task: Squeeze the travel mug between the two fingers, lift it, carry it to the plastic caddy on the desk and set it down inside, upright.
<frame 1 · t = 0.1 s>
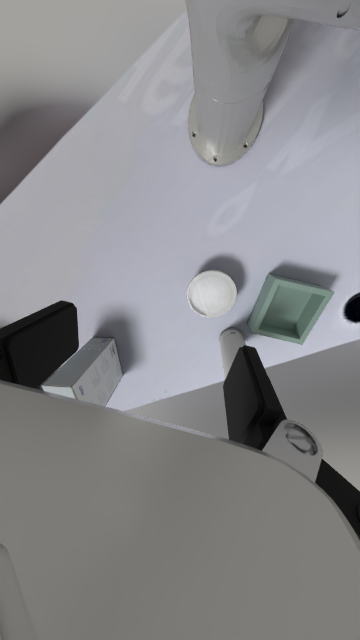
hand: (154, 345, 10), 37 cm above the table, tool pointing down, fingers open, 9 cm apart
caddy: (281, 305, 45), on the table
travel mug: (230, 337, 51), on the table
hard drive box: (108, 357, 60), on the table
ramekin: (210, 288, 46), on the table
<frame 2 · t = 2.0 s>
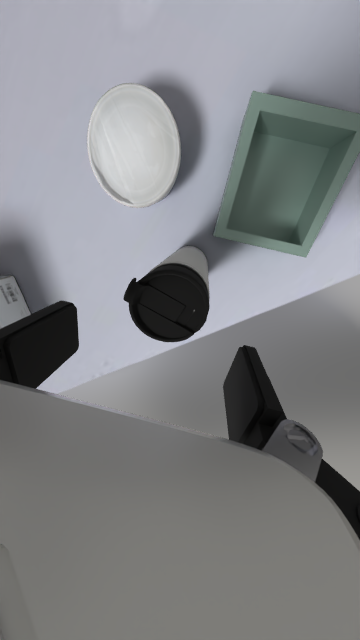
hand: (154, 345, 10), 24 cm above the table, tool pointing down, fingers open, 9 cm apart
caddy: (269, 193, 25), on the table
travel mug: (188, 264, 31), on the table
hard drive box: (16, 310, 40), on the table
ramekin: (145, 166, 26), on the table
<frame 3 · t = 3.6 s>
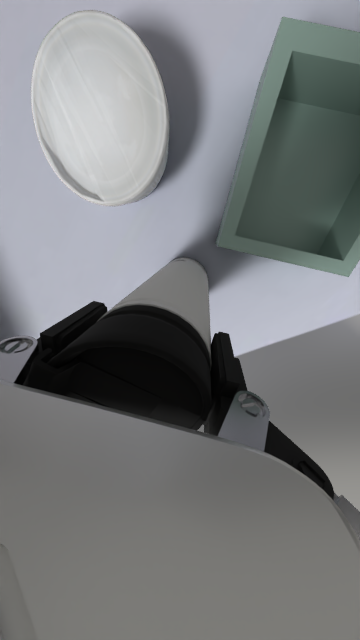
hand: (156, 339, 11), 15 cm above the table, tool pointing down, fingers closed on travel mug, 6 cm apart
caddy: (293, 187, 18), on the table
travel mug: (183, 281, 24), on the table, touching gripper
ramekin: (124, 150, 19), on the table
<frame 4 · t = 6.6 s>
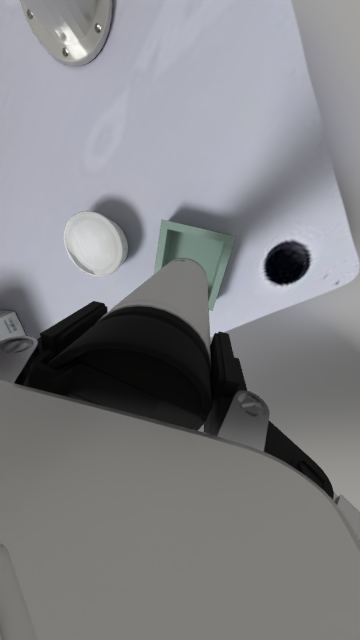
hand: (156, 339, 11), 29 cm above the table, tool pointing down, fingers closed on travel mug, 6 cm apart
caddy: (191, 264, 37), on the table
travel mug: (182, 281, 24), point 14 cm above the table, touching gripper
hard drive box: (16, 335, 52), on the table
ramekin: (107, 244, 38), on the table
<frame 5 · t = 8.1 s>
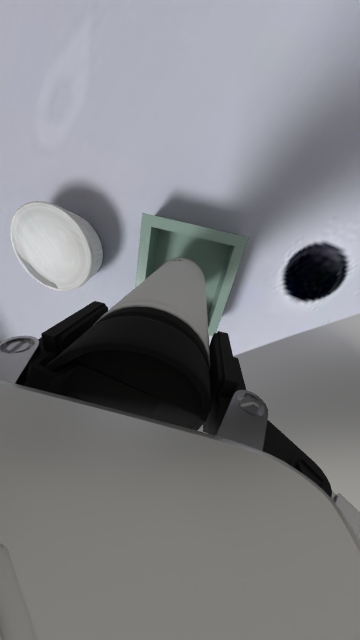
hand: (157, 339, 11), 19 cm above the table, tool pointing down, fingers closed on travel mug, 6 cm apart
caddy: (186, 274, 28), on the table
travel mug: (180, 280, 24), point 4 cm above the table, touching gripper
ramekin: (76, 247, 29), on the table
when the fingers open (17 cm above the table, at t = 9.5 s): travel mug drops 2 cm, resting on caddy.
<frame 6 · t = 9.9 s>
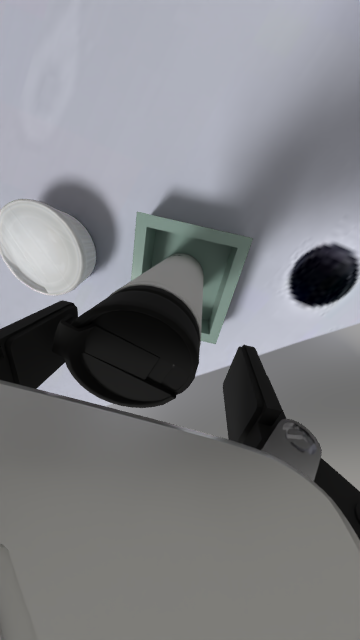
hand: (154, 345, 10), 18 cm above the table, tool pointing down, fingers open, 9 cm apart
caddy: (185, 277, 26), on the table
travel mug: (180, 275, 26), resting on caddy
ramekin: (68, 249, 27), on the table
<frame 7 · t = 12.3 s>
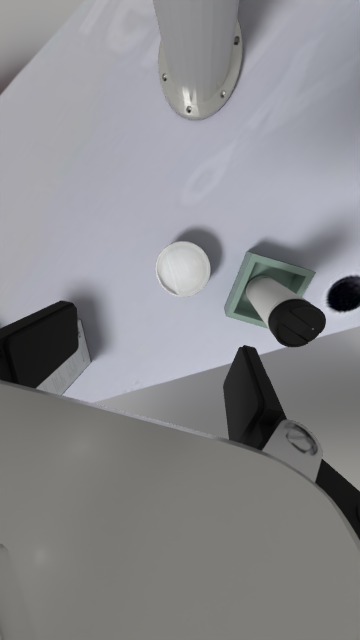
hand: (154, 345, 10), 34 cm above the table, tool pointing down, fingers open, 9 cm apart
caddy: (260, 289, 41), on the table
travel mug: (258, 288, 41), resting on caddy
hard drive box: (75, 341, 55), on the table
ramekin: (185, 266, 42), on the table
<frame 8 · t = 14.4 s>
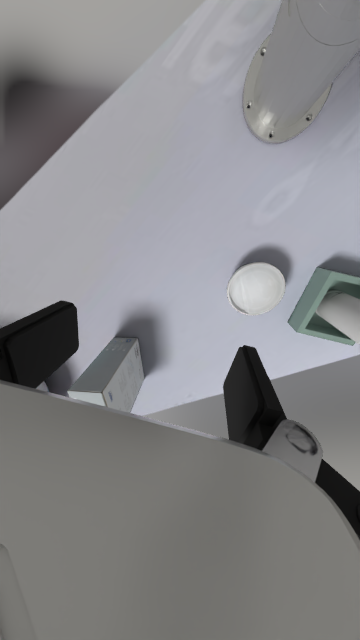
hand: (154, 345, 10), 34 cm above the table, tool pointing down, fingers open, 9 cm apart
caddy: (328, 303, 41), on the table
travel mug: (326, 301, 41), resting on caddy
hard drive box: (130, 358, 56), on the table
ramekin: (249, 284, 42), on the table
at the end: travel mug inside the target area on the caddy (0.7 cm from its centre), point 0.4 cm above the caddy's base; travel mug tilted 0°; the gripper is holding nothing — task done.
